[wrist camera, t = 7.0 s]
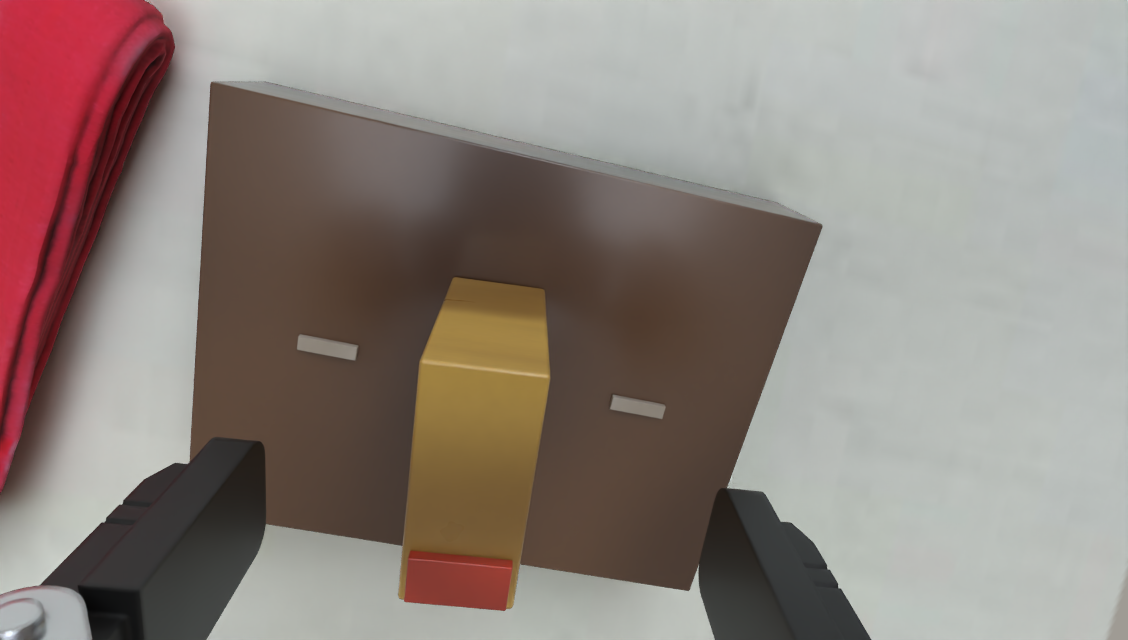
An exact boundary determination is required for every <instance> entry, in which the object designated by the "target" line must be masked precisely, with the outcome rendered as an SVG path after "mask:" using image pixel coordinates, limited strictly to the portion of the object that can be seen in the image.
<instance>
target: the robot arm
mask: <svg viewBox="0 0 1128 640" xmlns="http://www.w3.org/2000/svg"><path fill="white" fill-rule="evenodd" d="M265 526H266V470H265V448H264V445H263V443H262V442H261V441H253V440H243V439H233V438H223V437H214V438H212V439H211V440H210V441H209V442H208V443H207V444H206V445H205V446H204V447H203V448H202V449H201V450H200V451H199V453H198V454H197V455H196V456H195V457H194V458H193V459H192V460H191V461H190V462H189V463H188V464H180V463H174V464H172V465H170V466H168V467H166V468H165V469H163V470H161V471H159V472H157V473H155V474H153V475H152V476H150V477H148V478H146V479H144V480H143V481H142V482H141V483H140V484H139V485H138V486H137V487H136V488H135V489H134V490H133V491H132V492H131V493H130V494H129V495H128V496H127V497H126V498H125V499H124V500H123V504H122V505H119V506H118V507H117V508H116V509H115V510H114V511H113V512H112V513H111V514H110V515H109V516H108V517H107V518H106V521H105V523H101V524H100V525H99V526H98V527H97V528H96V529H95V530H94V531H93V532H92V533H91V534H90V535H89V536H88V537H87V538H86V539H85V540H84V541H83V542H82V543H81V544H80V545H79V546H78V547H77V548H76V549H75V550H74V551H73V552H72V553H71V554H70V555H69V556H68V557H67V558H66V559H65V560H64V561H63V562H62V563H61V564H60V565H59V566H58V567H57V568H56V569H55V570H54V571H53V572H52V573H51V574H50V575H49V576H48V577H47V578H46V579H45V580H44V581H43V583H42V584H41V585H40V586H32V587H26V588H21V589H17V590H13V591H10V592H7V593H4V594H1V595H0V640H206V639H207V638H208V636H209V634H210V633H211V631H212V629H213V627H214V626H215V624H216V622H217V621H218V619H219V617H220V616H221V614H222V612H223V611H224V609H225V607H226V606H227V604H228V602H229V601H230V599H231V597H232V595H233V594H234V592H235V590H236V589H237V587H238V585H239V584H240V582H241V580H242V579H243V577H244V575H245V574H246V572H247V570H248V569H249V567H250V565H251V564H252V562H253V560H254V558H255V557H256V555H257V553H258V551H259V548H260V546H261V543H262V540H263V536H264V531H265ZM699 587H700V593H701V597H702V600H703V603H704V606H705V609H706V612H707V616H708V619H709V622H710V625H711V628H712V632H713V635H714V638H715V640H871V639H870V637H869V635H868V633H867V632H866V630H865V628H864V627H863V625H862V623H861V622H860V620H859V618H858V617H857V615H856V613H855V612H854V610H853V608H852V606H851V605H850V603H849V601H848V600H847V598H846V596H845V595H844V593H843V591H842V590H841V589H838V583H837V581H836V579H835V578H834V576H833V574H832V573H831V571H830V570H827V564H826V563H825V561H824V559H823V558H822V556H821V554H820V552H819V551H818V549H817V547H816V546H815V544H814V543H813V542H812V541H811V540H810V539H809V538H808V537H807V536H805V535H804V534H803V533H802V532H801V531H800V530H799V529H798V528H797V527H795V526H794V525H793V524H792V523H788V522H780V520H779V518H778V516H777V515H776V513H775V511H774V509H773V507H772V505H771V504H770V502H769V500H768V498H767V496H766V495H765V494H764V493H763V492H759V491H749V490H739V489H729V488H721V489H719V491H718V492H717V494H716V497H715V500H714V504H713V508H712V512H711V516H710V520H709V524H708V528H707V532H706V536H705V540H704V544H703V548H702V552H701V556H700V561H699Z"/></svg>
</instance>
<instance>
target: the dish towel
mask: <svg viewBox="0 0 1128 640" xmlns="http://www.w3.org/2000/svg"><path fill="white" fill-rule="evenodd" d="M174 49H175V45H174V40H173V36H172V32H171V31H170V29H169V28H168V27H166V26H165V25H164V23H163V17H162V14H161V13H160V12H159V11H158V10H157V9H156V8H155V7H154V6H153V5H151V4H149V3H148V2H146V1H144V0H0V493H1V491H2V489H3V487H4V485H5V482H6V478H7V475H8V472H9V469H10V466H11V463H12V460H13V456H14V452H15V449H16V446H17V444H18V442H19V440H20V436H21V433H22V429H23V425H24V420H25V416H26V413H27V411H28V409H29V406H30V403H31V400H32V397H33V395H34V392H35V390H36V387H37V385H38V382H39V380H40V377H41V375H42V373H43V370H44V368H45V365H46V363H47V360H48V358H49V356H50V353H51V351H52V348H53V345H54V342H55V339H56V336H57V333H58V330H59V327H60V325H61V322H62V319H63V316H64V314H65V311H66V309H67V307H68V304H69V302H70V300H71V297H72V295H73V293H74V290H75V287H76V284H77V282H78V279H79V276H80V274H81V271H82V269H83V266H84V263H85V261H86V259H87V256H88V254H89V252H90V250H91V247H92V245H93V243H94V240H95V238H96V236H97V233H98V230H99V228H100V225H101V222H102V219H103V216H104V214H105V211H106V208H107V205H108V202H109V200H110V197H111V194H112V191H113V189H114V187H115V184H116V182H117V180H118V177H119V176H120V174H121V172H122V169H123V163H124V161H125V159H126V156H127V154H128V152H129V149H130V147H131V144H132V142H133V139H134V137H135V134H136V132H137V130H138V128H139V125H140V123H141V121H142V119H143V117H144V114H145V112H146V109H147V106H148V104H149V101H150V99H151V97H152V95H153V93H154V91H155V89H156V87H157V86H158V84H159V83H160V81H161V79H162V78H163V76H164V74H165V73H166V71H167V68H168V66H169V64H170V61H171V59H172V55H173V52H174Z"/></svg>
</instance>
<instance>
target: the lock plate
mask: <svg viewBox="0 0 1128 640" xmlns="http://www.w3.org/2000/svg"><path fill="white" fill-rule="evenodd" d="M821 229H822V224H820V223H818V222H816V221H814V220H812V219H810V218H808V217H806V216H804V215H802V214H800V213H798V212H795V211H793V210H791V209H789V208H787V207H785V206H783V205H781V204H779V203H776V202H772V201H768V200H763V199H759V198H755V197H751V196H746V195H742V194H738V193H734V192H730V191H725V190H721V189H717V188H713V187H708V186H704V185H700V184H696V183H691V182H687V181H683V180H679V179H675V178H670V177H666V176H662V175H658V174H653V173H649V172H645V171H641V170H637V169H632V168H628V167H624V166H620V165H615V164H611V163H607V162H603V161H598V160H594V159H590V158H586V157H582V156H577V155H573V154H569V153H565V152H560V151H556V150H552V149H548V148H543V147H539V146H535V145H531V144H527V143H522V142H518V141H514V140H510V139H505V138H501V137H497V136H493V135H489V134H484V133H480V132H476V131H472V130H467V129H463V128H459V127H455V126H450V125H446V124H442V123H438V122H434V121H429V120H425V119H421V118H417V117H412V116H408V115H404V114H400V113H395V112H391V111H387V110H383V109H379V108H374V107H370V106H366V105H362V104H357V103H353V102H349V101H345V100H341V99H336V98H332V97H328V96H324V95H319V94H315V93H311V92H307V91H302V90H298V89H294V88H290V87H286V86H281V85H277V84H273V83H269V82H211V86H210V104H209V122H208V140H207V158H206V176H205V194H204V212H203V230H202V248H201V266H200V284H199V302H198V320H197V338H196V356H195V374H194V392H193V410H192V428H191V446H190V461H191V460H192V459H193V458H194V457H195V456H196V455H197V454H198V453H199V451H200V450H201V449H202V448H203V447H204V446H205V445H206V444H207V443H208V442H209V441H210V440H211V439H212V438H214V437H223V438H233V439H243V440H253V441H261V442H262V443H263V445H264V448H265V470H266V524H269V525H275V526H281V527H288V528H294V529H300V530H307V531H313V532H319V533H326V534H332V535H338V536H344V537H351V538H357V539H363V540H370V541H376V542H382V543H389V544H395V545H401V546H403V536H404V525H405V514H406V503H407V492H408V481H409V470H410V459H411V448H412V437H413V426H414V415H415V404H416V393H417V382H418V371H419V361H420V359H421V356H422V354H423V351H424V349H425V346H426V344H427V341H428V339H429V336H430V334H431V331H432V329H433V326H434V324H435V321H436V319H437V316H438V314H439V311H440V309H441V306H442V304H443V301H444V299H445V296H446V294H447V291H448V289H449V286H450V284H451V281H452V279H453V278H454V277H458V278H466V279H473V280H480V281H488V282H495V283H502V284H510V285H517V286H525V287H532V288H539V289H543V290H544V291H545V301H546V316H547V332H548V347H549V363H550V384H549V390H548V397H547V403H546V409H545V415H544V421H543V427H542V433H541V439H540V445H539V452H538V458H537V464H536V470H535V476H534V482H533V488H532V494H531V500H530V507H529V513H528V519H527V525H526V531H525V537H524V543H523V549H522V555H521V562H520V564H521V565H528V566H534V567H540V568H546V569H553V570H559V571H565V572H572V573H578V574H584V575H591V576H597V577H603V578H610V579H616V580H622V581H629V582H635V583H641V584H647V585H654V586H660V587H666V588H673V589H679V590H685V591H689V590H690V587H691V584H692V582H693V579H694V576H695V574H696V571H697V568H698V565H699V561H700V556H701V552H702V548H703V544H704V540H705V536H706V532H707V528H708V524H709V520H710V516H711V512H712V508H713V504H714V500H715V497H716V494H717V492H718V491H719V489H721V488H727V486H728V483H729V481H730V478H731V475H732V472H733V470H734V467H735V464H736V461H737V459H738V456H739V453H740V451H741V448H742V445H743V442H744V440H745V437H746V434H747V431H748V429H749V426H750V423H751V420H752V418H753V415H754V412H755V410H756V407H757V404H758V401H759V399H760V396H761V393H762V390H763V388H764V385H765V382H766V380H767V377H768V374H769V371H770V369H771V366H772V363H773V360H774V358H775V355H776V352H777V349H778V347H779V344H780V341H781V339H782V336H783V333H784V330H785V328H786V325H787V322H788V319H789V317H790V314H791V311H792V308H793V306H794V303H795V300H796V298H797V295H798V292H799V289H800V287H801V284H802V281H803V278H804V276H805V273H806V270H807V267H808V265H809V262H810V259H811V257H812V254H813V251H814V248H815V246H816V243H817V240H818V237H819V235H820V232H821Z"/></svg>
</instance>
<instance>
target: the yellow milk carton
mask: <svg viewBox="0 0 1128 640" xmlns="http://www.w3.org/2000/svg"><path fill="white" fill-rule="evenodd" d="M549 384H550V363H549V347H548V332H547V316H546V301H545V291H544V290H543V289H539V288H532V287H525V286H517V285H510V284H502V283H495V282H488V281H480V280H473V279H466V278H458V277H454V278H453V279H452V281H451V284H450V286H449V289H448V291H447V294H446V296H445V299H444V301H443V304H442V306H441V309H440V311H439V314H438V316H437V319H436V321H435V324H434V326H433V329H432V331H431V334H430V336H429V339H428V341H427V344H426V346H425V349H424V351H423V354H422V356H421V359H420V361H419V371H418V382H417V393H416V404H415V415H414V426H413V437H412V448H411V459H410V470H409V481H408V492H407V503H406V514H405V525H404V536H403V547H402V558H401V569H400V580H399V591H398V596H399V599H402V600H404V602H411V603H422V604H433V605H445V606H456V607H467V608H479V609H490V610H501V611H505V610H506V609H511V608H512V607H513V604H514V598H515V592H516V586H517V580H518V574H519V568H520V562H521V555H522V549H523V543H524V537H525V531H526V525H527V519H528V513H529V507H530V500H531V494H532V488H533V482H534V476H535V470H536V464H537V458H538V452H539V445H540V439H541V433H542V427H543V421H544V415H545V409H546V403H547V397H548V390H549Z"/></svg>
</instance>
